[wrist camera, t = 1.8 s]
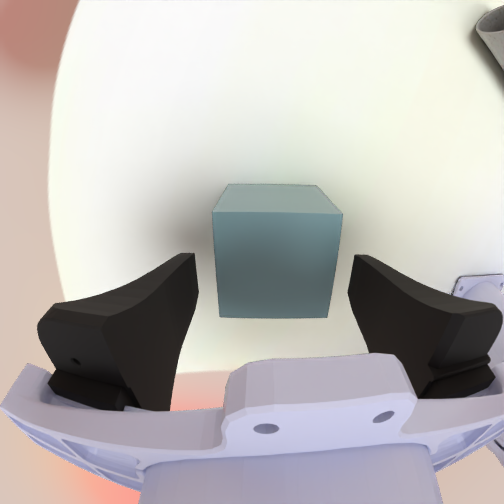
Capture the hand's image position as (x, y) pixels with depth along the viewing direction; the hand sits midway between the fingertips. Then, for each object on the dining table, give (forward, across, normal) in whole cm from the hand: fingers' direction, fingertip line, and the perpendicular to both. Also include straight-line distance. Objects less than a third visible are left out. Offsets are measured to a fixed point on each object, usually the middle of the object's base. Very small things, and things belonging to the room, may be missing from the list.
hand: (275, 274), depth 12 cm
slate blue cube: (+6, 0, 0) cm, 6 cm away
